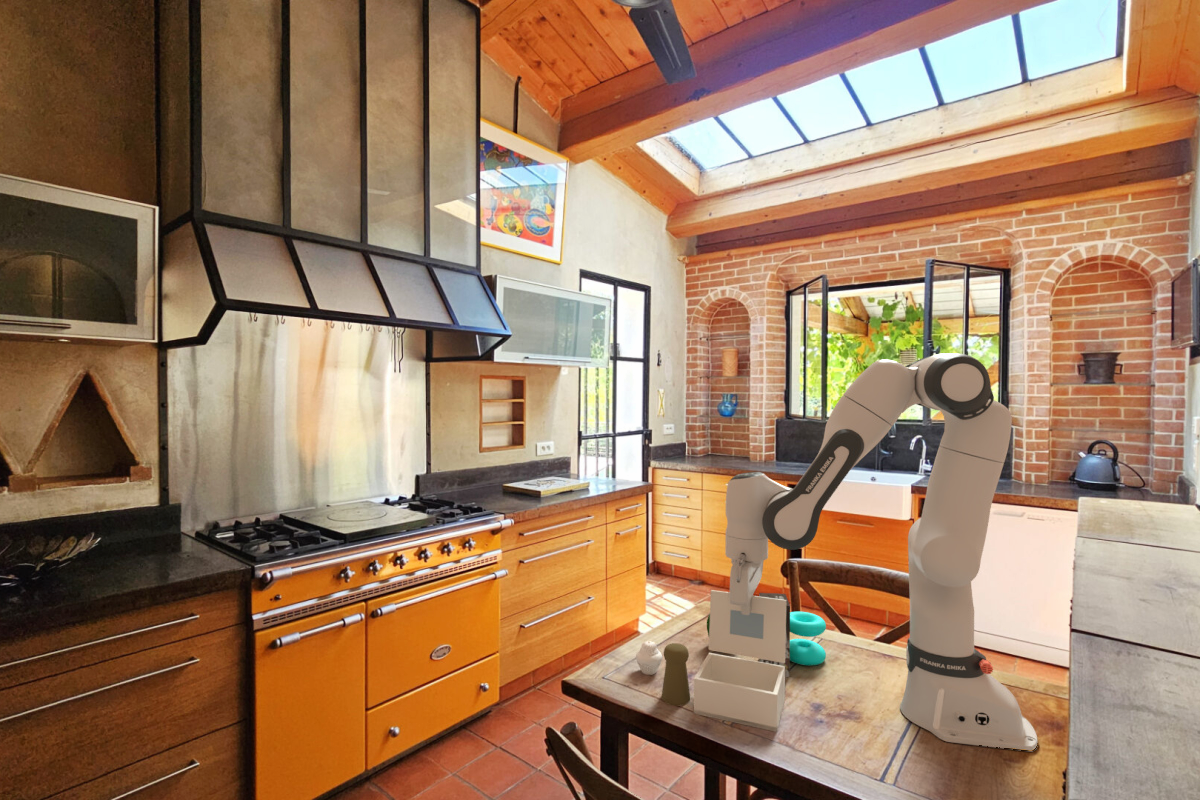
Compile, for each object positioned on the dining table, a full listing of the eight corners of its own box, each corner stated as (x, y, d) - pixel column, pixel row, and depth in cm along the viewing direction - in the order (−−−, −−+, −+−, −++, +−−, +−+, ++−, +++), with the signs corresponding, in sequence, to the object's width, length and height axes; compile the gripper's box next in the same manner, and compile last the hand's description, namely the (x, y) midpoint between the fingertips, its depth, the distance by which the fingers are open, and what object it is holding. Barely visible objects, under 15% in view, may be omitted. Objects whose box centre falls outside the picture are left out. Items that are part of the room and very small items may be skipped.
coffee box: (790, 677, 133) (790, 606, 133) (761, 675, 135) (761, 604, 134) (786, 660, 142) (786, 593, 142) (758, 657, 143) (758, 591, 143)
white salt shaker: (630, 670, 137) (630, 640, 137) (650, 663, 140) (650, 633, 140) (647, 680, 132) (648, 649, 132) (668, 673, 135) (668, 642, 135)
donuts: (823, 611, 147) (828, 626, 137) (822, 651, 147) (828, 669, 137) (781, 608, 149) (783, 622, 140) (781, 647, 149) (783, 665, 140)
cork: (696, 697, 124) (696, 645, 124) (679, 708, 120) (679, 654, 120) (672, 688, 128) (672, 637, 128) (655, 698, 124) (655, 645, 124)
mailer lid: (784, 663, 123) (785, 662, 124) (786, 600, 125) (786, 600, 125) (708, 649, 129) (709, 649, 130) (710, 590, 131) (711, 590, 132)
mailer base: (784, 699, 123) (784, 666, 123) (777, 731, 112) (777, 694, 112) (708, 684, 130) (708, 652, 130) (693, 713, 118) (693, 678, 118)
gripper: (754, 562, 115) (754, 633, 115) (768, 539, 134) (767, 600, 134) (721, 558, 118) (721, 628, 118) (739, 536, 137) (739, 596, 137)
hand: (746, 613), depth 126 cm, fingers closed
